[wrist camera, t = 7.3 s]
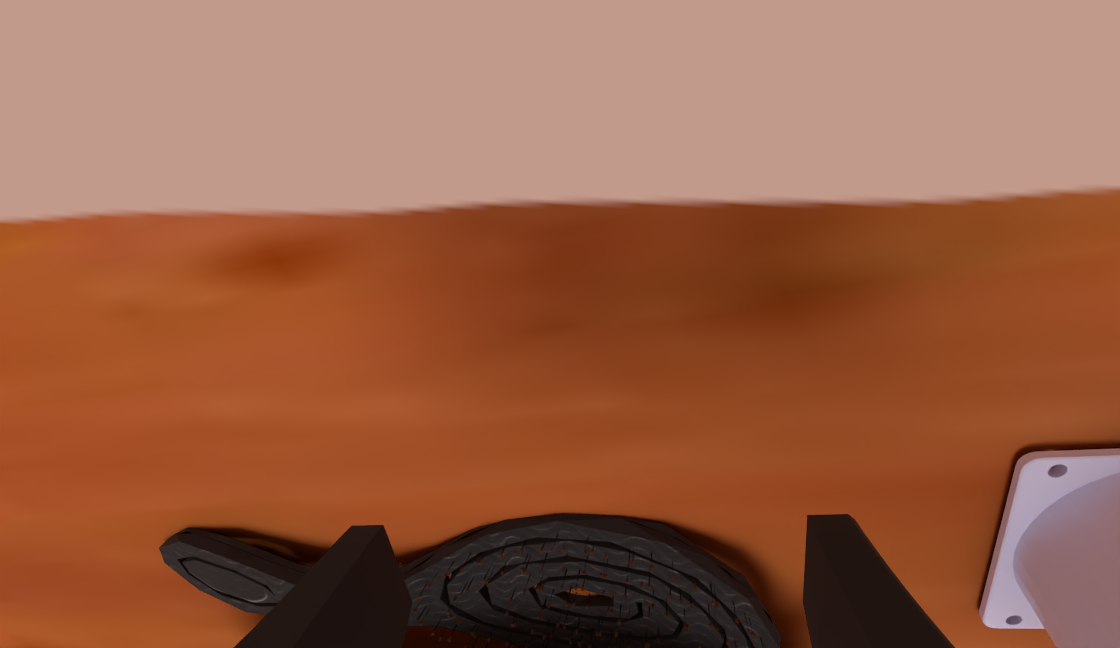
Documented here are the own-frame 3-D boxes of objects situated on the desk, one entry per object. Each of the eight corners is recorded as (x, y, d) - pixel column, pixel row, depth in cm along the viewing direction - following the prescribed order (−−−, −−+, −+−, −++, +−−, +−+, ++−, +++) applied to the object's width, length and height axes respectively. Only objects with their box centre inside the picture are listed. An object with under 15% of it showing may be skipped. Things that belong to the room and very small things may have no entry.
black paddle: (87, 521, 23) (809, 620, 19) (159, 453, 26) (790, 529, 23) (158, 660, 27) (765, 763, 24) (213, 587, 30) (755, 668, 27)
